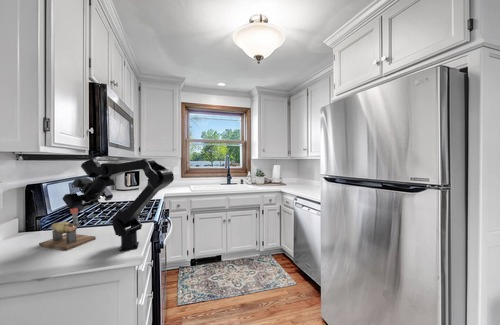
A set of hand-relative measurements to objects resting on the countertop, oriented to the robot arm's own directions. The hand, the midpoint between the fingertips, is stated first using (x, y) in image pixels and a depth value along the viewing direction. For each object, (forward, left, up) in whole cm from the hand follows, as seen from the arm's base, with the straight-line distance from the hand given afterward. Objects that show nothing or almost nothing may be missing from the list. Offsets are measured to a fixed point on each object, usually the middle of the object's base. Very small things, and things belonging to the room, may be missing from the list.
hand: (80, 209), depth 100 cm
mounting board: (-1, +5, -13) cm, 14 cm away
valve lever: (+2, +2, -8) cm, 8 cm away
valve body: (-1, +5, -12) cm, 13 cm away
